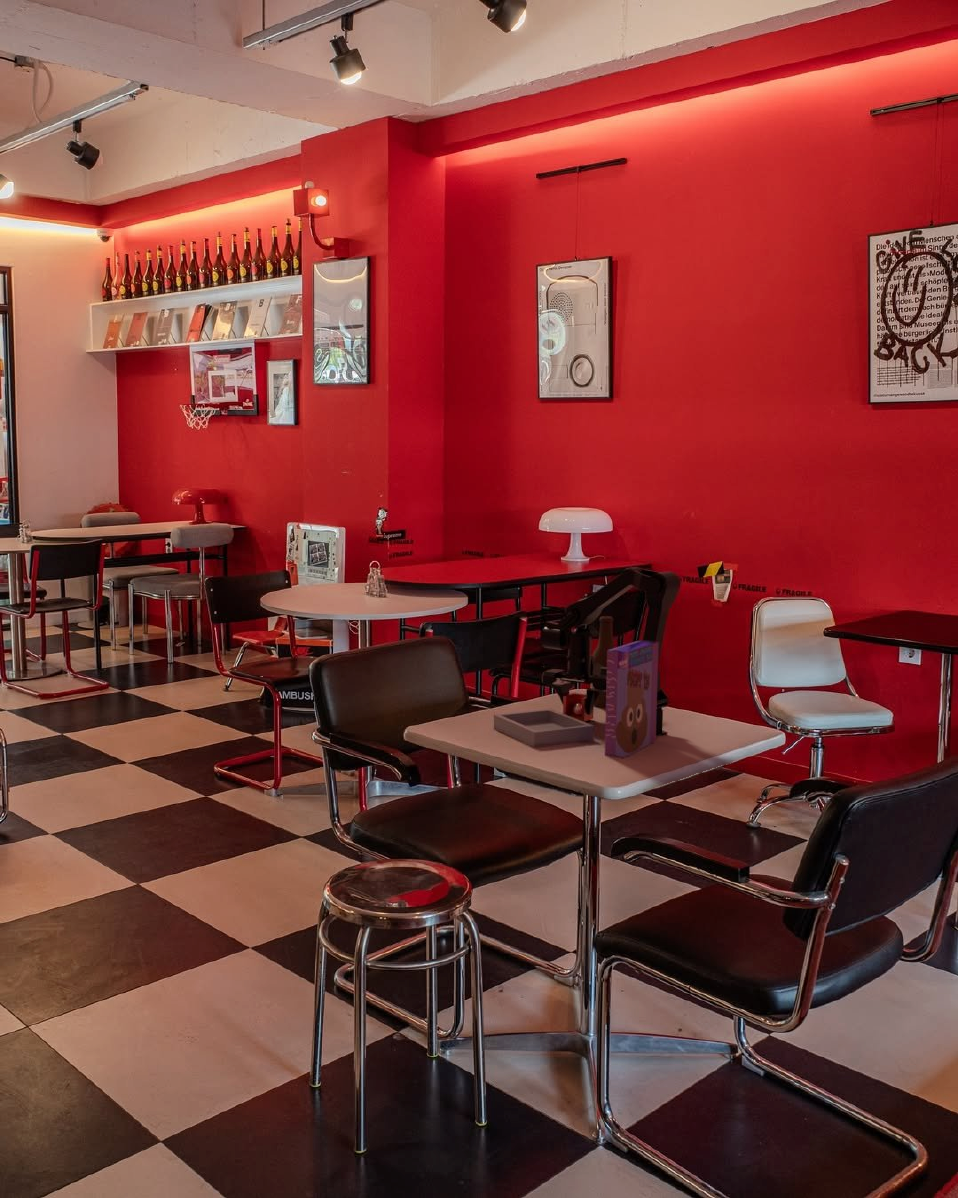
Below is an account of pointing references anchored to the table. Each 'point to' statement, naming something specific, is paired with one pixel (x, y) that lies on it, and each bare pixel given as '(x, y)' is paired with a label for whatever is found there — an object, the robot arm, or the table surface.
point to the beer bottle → (603, 652)
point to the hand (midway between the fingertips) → (578, 712)
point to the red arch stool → (571, 701)
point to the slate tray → (543, 727)
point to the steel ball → (577, 709)
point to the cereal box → (631, 698)
